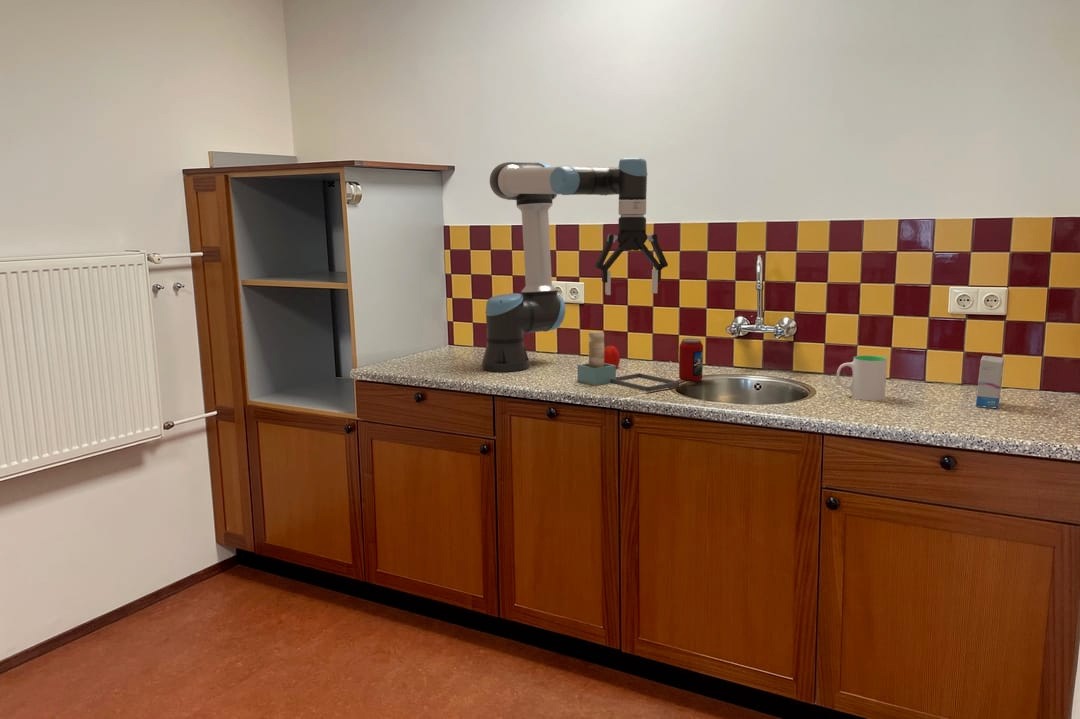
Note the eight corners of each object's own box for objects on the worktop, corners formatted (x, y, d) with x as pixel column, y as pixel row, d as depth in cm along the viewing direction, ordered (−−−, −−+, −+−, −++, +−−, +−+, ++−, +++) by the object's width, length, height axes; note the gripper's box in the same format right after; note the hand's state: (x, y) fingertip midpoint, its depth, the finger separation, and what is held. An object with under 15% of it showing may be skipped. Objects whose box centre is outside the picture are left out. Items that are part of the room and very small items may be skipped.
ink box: (998, 409, 195) (1002, 361, 193) (975, 407, 198) (979, 359, 196) (1000, 402, 202) (1004, 356, 200) (977, 400, 205) (981, 354, 203)
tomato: (617, 366, 257) (617, 343, 256) (621, 372, 249) (621, 348, 247) (588, 367, 257) (588, 344, 256) (591, 372, 248) (590, 348, 247)
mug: (835, 398, 209) (837, 359, 207) (835, 392, 217) (837, 354, 215) (885, 401, 205) (887, 361, 203) (884, 395, 212) (886, 356, 211)
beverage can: (702, 383, 231) (703, 341, 228) (678, 382, 232) (679, 341, 230) (702, 378, 237) (703, 338, 235) (679, 378, 238) (679, 338, 236)
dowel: (585, 381, 232) (585, 333, 230) (597, 379, 235) (597, 331, 232) (595, 383, 229) (595, 334, 226) (607, 381, 231) (607, 333, 229)
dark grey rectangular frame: (608, 384, 230) (608, 378, 230) (639, 379, 237) (639, 373, 237) (647, 394, 218) (647, 387, 217) (678, 387, 225) (679, 381, 224)
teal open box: (577, 383, 233) (577, 364, 232) (598, 380, 237) (598, 361, 236) (595, 387, 226) (594, 368, 225) (615, 384, 231) (615, 365, 230)
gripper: (591, 216, 214) (591, 296, 218) (680, 215, 219) (678, 293, 223) (584, 216, 221) (584, 293, 225) (670, 215, 226) (669, 291, 230)
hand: (631, 293), depth 224 cm, fingers open, 13 cm apart
